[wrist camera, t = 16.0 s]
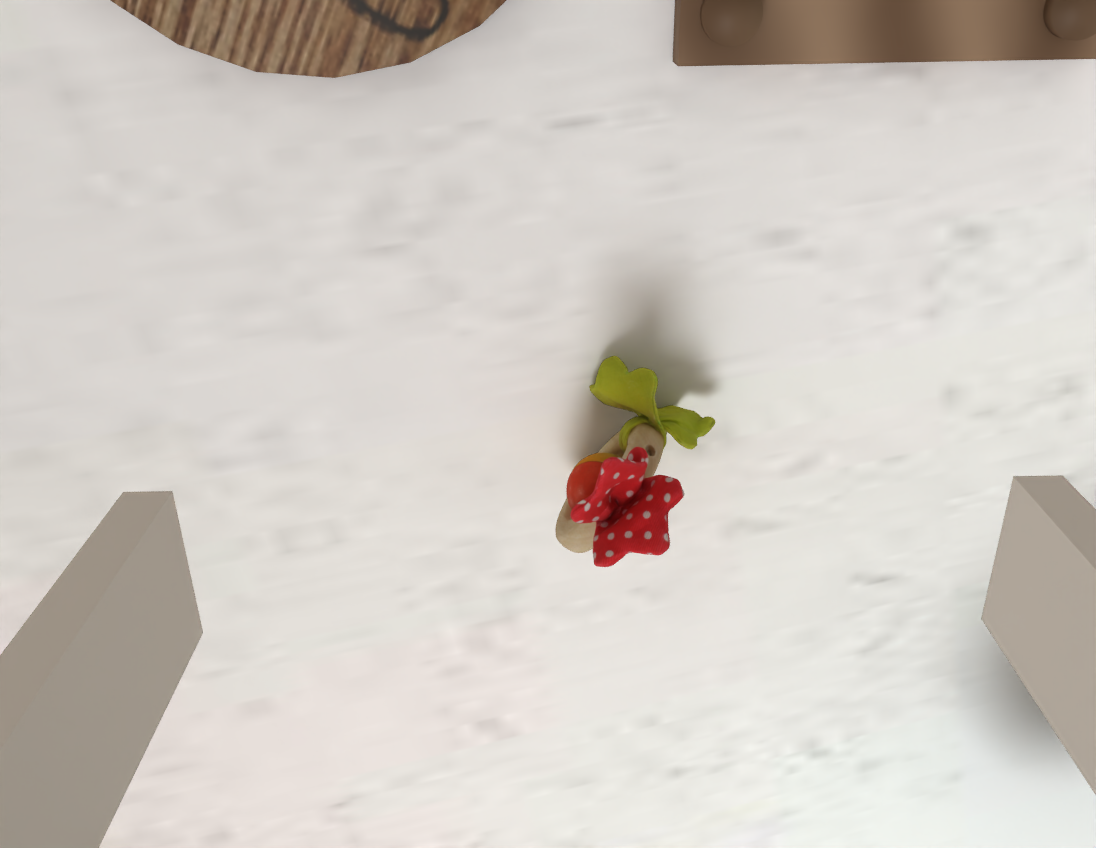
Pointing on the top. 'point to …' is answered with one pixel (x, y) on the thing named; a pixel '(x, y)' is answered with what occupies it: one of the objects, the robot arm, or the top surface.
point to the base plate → (880, 31)
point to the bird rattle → (627, 472)
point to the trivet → (312, 30)
